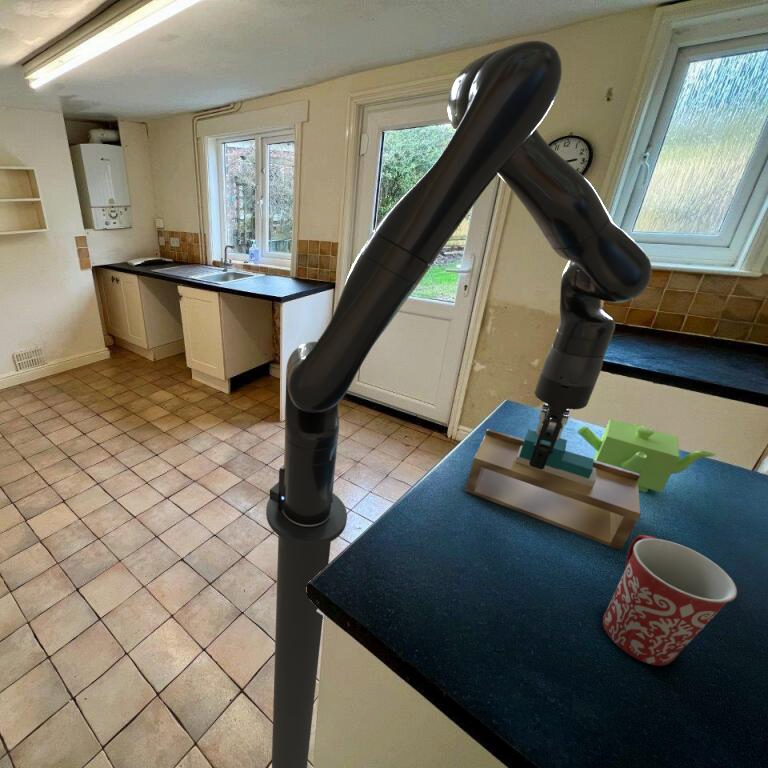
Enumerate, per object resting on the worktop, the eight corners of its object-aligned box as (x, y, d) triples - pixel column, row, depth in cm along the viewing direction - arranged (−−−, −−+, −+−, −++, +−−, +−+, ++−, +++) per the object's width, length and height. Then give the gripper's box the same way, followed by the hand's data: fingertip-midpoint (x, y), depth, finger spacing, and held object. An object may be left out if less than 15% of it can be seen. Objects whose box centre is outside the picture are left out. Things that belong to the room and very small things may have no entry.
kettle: (693, 497, 79) (721, 449, 74) (626, 504, 78) (650, 455, 73) (622, 452, 93) (642, 408, 88) (564, 456, 91) (581, 412, 86)
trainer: (515, 462, 76) (522, 439, 74) (519, 450, 80) (526, 428, 77) (593, 487, 70) (603, 463, 68) (593, 473, 73) (604, 450, 71)
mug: (698, 687, 49) (757, 613, 44) (606, 657, 53) (649, 584, 47) (655, 599, 60) (698, 530, 54) (580, 578, 63) (613, 511, 57)
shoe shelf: (464, 491, 81) (475, 453, 77) (477, 464, 89) (487, 428, 85) (621, 550, 68) (643, 508, 64) (620, 512, 76) (639, 473, 72)
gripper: (546, 356, 76) (521, 432, 83) (536, 383, 65) (509, 467, 73) (597, 366, 71) (566, 445, 79) (595, 397, 61) (560, 484, 68)
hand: (539, 455), depth 76 cm, fingers open, 7 cm apart
